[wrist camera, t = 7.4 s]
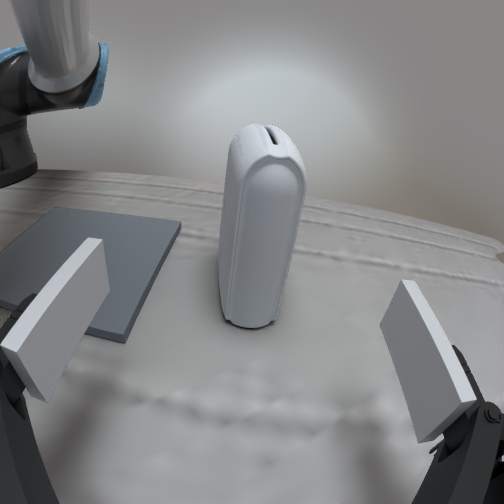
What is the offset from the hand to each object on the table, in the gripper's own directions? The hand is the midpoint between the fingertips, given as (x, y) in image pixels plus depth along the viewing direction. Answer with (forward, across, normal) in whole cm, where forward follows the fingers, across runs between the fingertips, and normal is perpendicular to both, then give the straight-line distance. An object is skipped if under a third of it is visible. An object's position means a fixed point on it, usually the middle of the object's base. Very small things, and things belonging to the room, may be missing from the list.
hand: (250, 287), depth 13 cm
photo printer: (+10, 0, -7) cm, 12 cm away
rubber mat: (+10, -15, -7) cm, 19 cm away
